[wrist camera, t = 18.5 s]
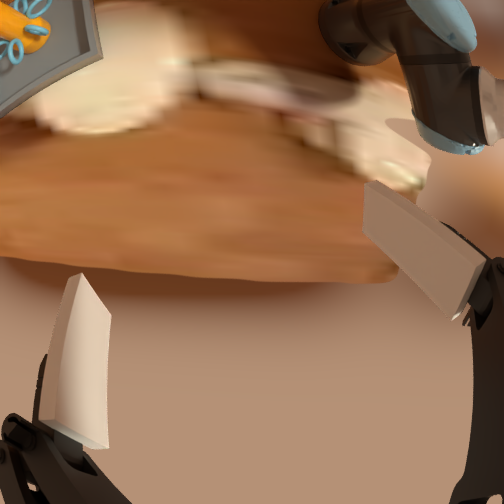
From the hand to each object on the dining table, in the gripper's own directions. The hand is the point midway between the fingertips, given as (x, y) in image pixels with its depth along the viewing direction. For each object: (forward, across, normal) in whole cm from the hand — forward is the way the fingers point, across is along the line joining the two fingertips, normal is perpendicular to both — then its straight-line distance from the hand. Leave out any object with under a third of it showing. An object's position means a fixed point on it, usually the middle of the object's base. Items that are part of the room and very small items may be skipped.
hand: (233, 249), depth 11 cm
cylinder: (+34, -19, +26) cm, 46 cm away
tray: (+34, -19, +26) cm, 47 cm away
